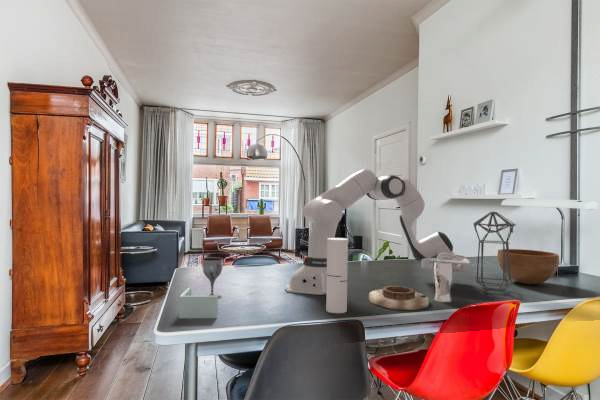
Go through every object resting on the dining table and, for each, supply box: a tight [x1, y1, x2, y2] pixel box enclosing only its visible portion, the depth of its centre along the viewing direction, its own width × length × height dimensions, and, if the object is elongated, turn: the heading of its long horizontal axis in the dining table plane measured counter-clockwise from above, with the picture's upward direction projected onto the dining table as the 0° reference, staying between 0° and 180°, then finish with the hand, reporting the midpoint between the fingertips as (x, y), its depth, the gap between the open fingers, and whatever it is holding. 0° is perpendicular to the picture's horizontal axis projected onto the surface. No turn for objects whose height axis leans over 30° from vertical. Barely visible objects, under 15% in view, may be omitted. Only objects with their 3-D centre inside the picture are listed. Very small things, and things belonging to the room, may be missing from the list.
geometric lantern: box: [472, 211, 517, 296], centre depth 154 cm, size 16×16×35 cm
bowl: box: [496, 248, 560, 285], centre depth 170 cm, size 25×25×15 cm
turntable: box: [368, 285, 430, 311], centre depth 136 cm, size 22×22×4 cm
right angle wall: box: [178, 287, 219, 319], centre depth 119 cm, size 12×12×8 cm
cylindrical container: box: [325, 237, 349, 314], centre depth 123 cm, size 7×7×25 cm
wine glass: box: [201, 256, 224, 300], centre depth 138 cm, size 8×8×15 cm
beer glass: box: [433, 261, 454, 303], centre depth 138 cm, size 7×7×15 cm
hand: (444, 267), depth 149 cm, fingers open, 8 cm apart
